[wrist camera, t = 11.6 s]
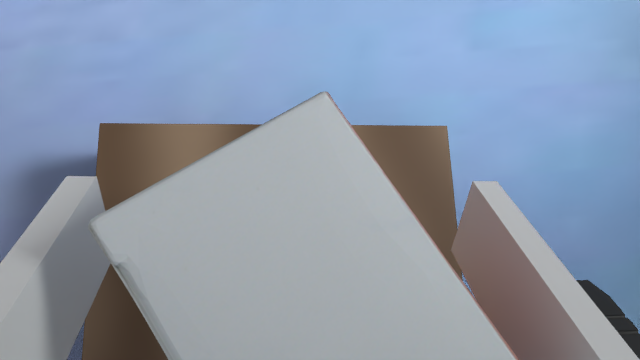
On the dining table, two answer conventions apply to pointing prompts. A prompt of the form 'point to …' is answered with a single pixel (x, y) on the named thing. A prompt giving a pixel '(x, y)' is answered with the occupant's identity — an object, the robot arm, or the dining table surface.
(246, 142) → the small box
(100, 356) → the walnut block
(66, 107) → the dining table surface
